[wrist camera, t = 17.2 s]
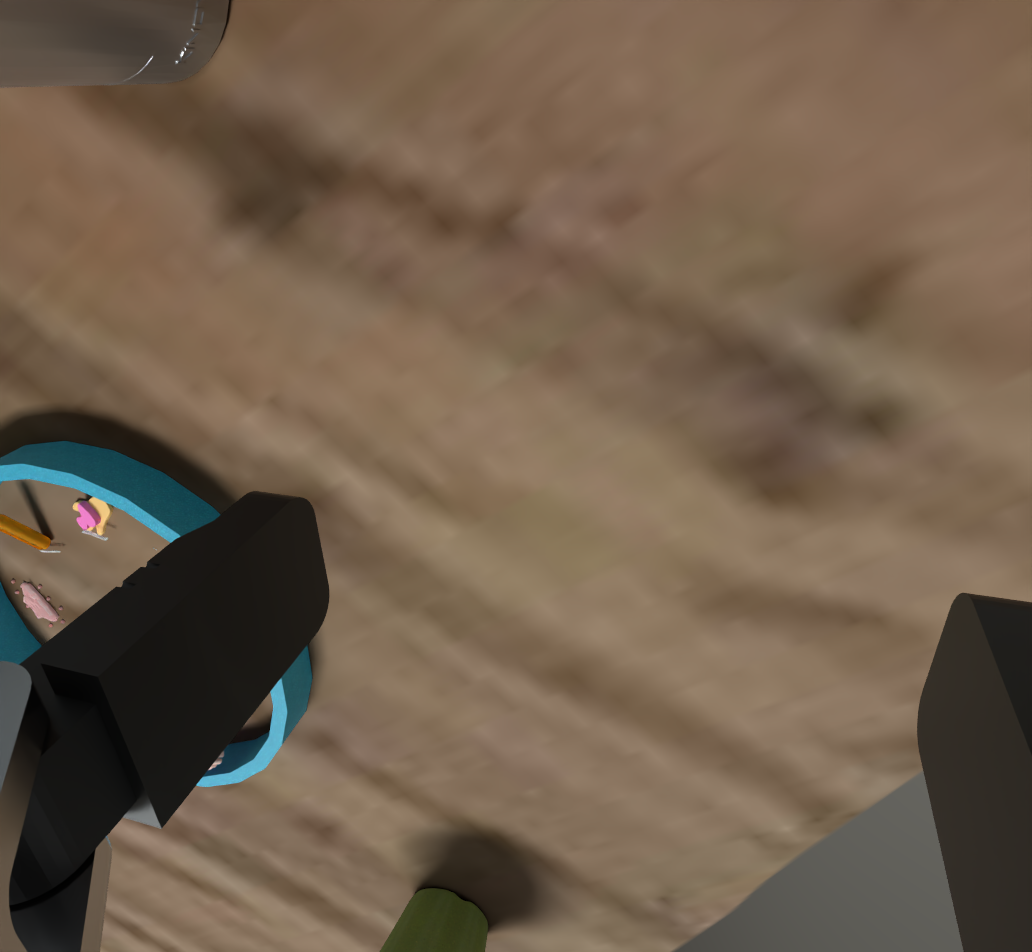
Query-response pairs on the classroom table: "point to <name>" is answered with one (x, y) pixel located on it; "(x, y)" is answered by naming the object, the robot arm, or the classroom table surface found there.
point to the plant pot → (438, 925)
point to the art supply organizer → (169, 517)
